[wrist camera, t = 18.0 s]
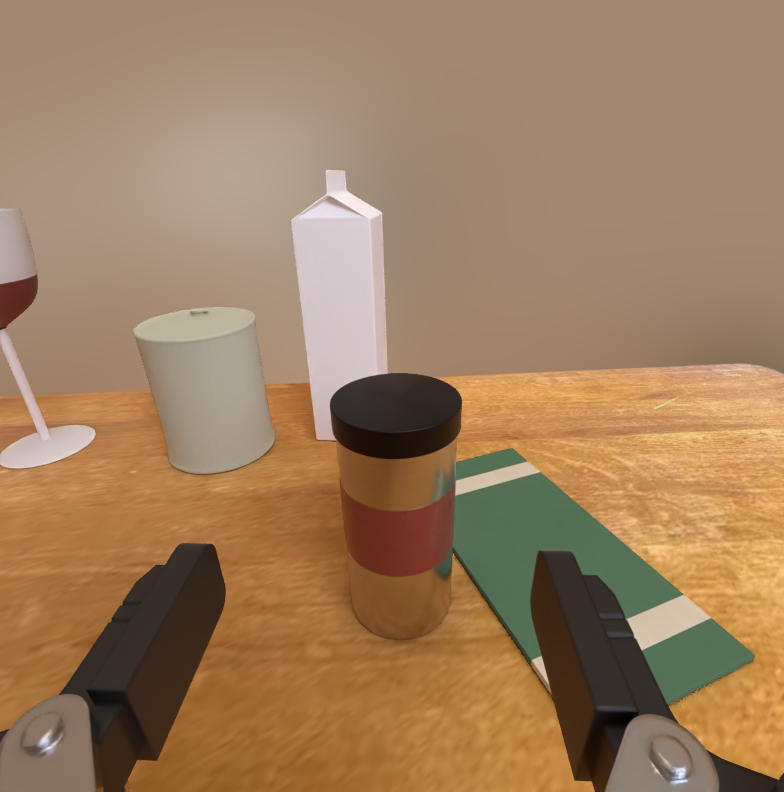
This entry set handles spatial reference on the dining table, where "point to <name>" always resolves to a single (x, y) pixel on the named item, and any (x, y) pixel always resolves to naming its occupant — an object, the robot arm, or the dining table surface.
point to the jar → (398, 498)
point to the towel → (596, 555)
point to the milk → (340, 293)
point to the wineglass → (3, 302)
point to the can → (207, 387)
